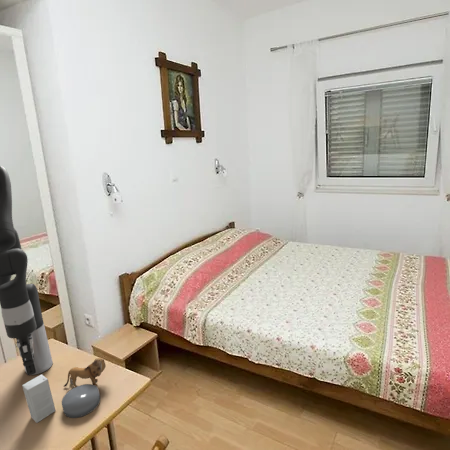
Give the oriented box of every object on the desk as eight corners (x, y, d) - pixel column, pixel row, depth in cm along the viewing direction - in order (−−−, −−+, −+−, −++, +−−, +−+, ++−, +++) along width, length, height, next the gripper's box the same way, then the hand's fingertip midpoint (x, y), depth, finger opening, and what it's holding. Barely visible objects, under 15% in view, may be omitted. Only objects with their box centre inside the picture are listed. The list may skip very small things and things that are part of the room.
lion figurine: (109, 374, 123) (105, 353, 121) (107, 385, 118) (103, 362, 116) (65, 383, 121) (60, 360, 118) (61, 393, 116) (56, 370, 113)
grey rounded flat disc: (61, 401, 112) (59, 393, 111) (96, 386, 118) (94, 379, 117) (66, 423, 103) (64, 415, 102) (103, 407, 109) (102, 399, 108)
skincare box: (49, 405, 111) (42, 373, 108) (56, 411, 108) (48, 378, 105) (30, 417, 107) (21, 384, 103) (36, 424, 104) (27, 390, 101)
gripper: (3, 311, 103) (15, 358, 107) (3, 332, 91) (17, 384, 95) (32, 304, 106) (42, 349, 111) (35, 323, 95) (47, 373, 99)
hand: (30, 366), depth 103 cm, fingers open, 8 cm apart
